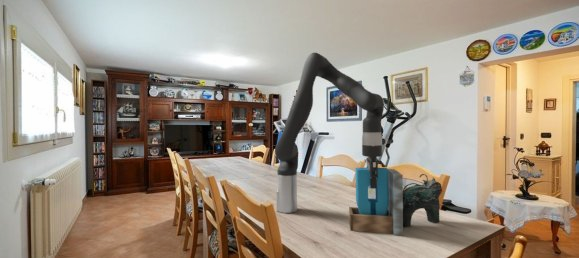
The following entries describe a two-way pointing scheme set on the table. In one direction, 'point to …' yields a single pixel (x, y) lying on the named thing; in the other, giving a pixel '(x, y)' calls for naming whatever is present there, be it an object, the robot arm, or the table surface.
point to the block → (382, 190)
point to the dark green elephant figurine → (421, 200)
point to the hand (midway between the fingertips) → (372, 186)
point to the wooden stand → (394, 212)
